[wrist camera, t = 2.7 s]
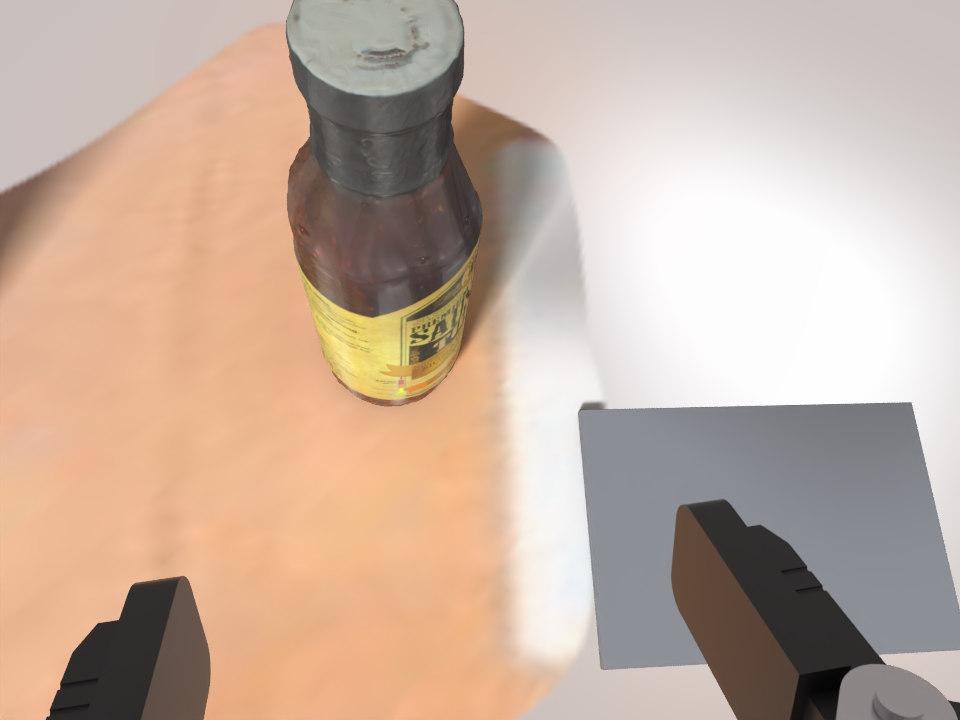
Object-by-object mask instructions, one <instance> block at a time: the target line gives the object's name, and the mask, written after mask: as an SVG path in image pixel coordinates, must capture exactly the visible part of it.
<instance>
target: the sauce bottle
mask: <svg viewBox="0 0 960 720" xmlns="http://www.w3.org/2000/svg"><path fill="white" fill-rule="evenodd" d="M286 38H287V44H288V47H289V52H290V54H289V58H290V61H291V64H292V68H293V75H294V78H295V81H296V84H297V86H298V88H299V90H300V92H301V93H302V95H303V97H304V98H305V100H306V103H307V107H308V109H309V111H308V112H309V115H310V122H311V123H310V137H309V139H308V141H307V142H306V143H305V144H304V145H303V146H302V147H301V148H300V149H299V151H298V154H297V155H296V158H295V160H294V162H293V164H292V165H291V167H290V169H289V179H288V193H287V211H288V217H289V222H290V226H291V229H292V232H293V236H294V237H293V243H294V250H295V255H296V259H297V262H298V266H299V270H300V273H301V277H302V281H303V284H304V287H305V291H306V294H307V297H308V301H309V304H310V308H311V312H312V316H313V320H314V323H315V327H316V330H317V334H318V337H319V341H320V344H321V348H322V352H323V355H324V358H325V360H326V362H327V363H328V365H329V366H330V368H331V369H332V372H333V374H334V376H335V377H336V378H337V380H338V382H339V383H341V384H342V385H343V386H344V387H345V388H346V389H348V390H349V391H350V392H352V393H353V394H354V395H356V396H357V397H359V398H361V399H362V400H365V401H367V402H370V403H372V404H375V405H380V406H401V405H404V404H409V403H411V402H416V401H419V400H421V399H423V398H424V397H426V396H427V395H428V394H429V393H431V392H432V391H433V390H434V389H435V388H436V387H437V386H438V385H439V384H440V383H441V382H442V380H443V379H445V378H446V377H447V374H448V372H449V371H450V370H451V368H452V366H453V365H454V363H455V360H456V358H457V356H458V353H459V350H460V345H461V339H462V334H463V329H464V323H465V318H466V312H467V307H468V302H469V296H470V291H471V286H472V281H473V274H474V268H475V262H476V256H477V251H478V246H479V241H480V235H481V228H482V207H481V203H480V199H479V196H478V194H477V192H476V191H475V189H474V187H473V185H472V183H471V180H470V178H469V176H468V174H467V172H466V169H465V167H464V165H463V163H462V160H461V158H460V156H459V154H458V151H457V149H456V147H455V145H454V142H453V139H454V132H453V128H452V124H451V120H452V105H453V98H454V97H455V95H456V93H457V91H458V89H459V86H460V84H461V81H462V78H463V70H464V26H463V20H462V18H461V15H460V13H459V8H458V5H457V4H456V3H455V1H454V0H294V1H293V3H292V7H291V9H290V12H289V15H288V18H287V20H286Z"/></svg>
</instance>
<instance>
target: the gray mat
mask: <svg viewBox="0 0 960 720" xmlns="http://www.w3.org/2000/svg"><path fill="white" fill-rule="evenodd" d="M578 418H579V429H580V440H581V451H582V463H583V474H584V485H585V497H586V508H587V519H588V531H589V542H590V553H591V565H592V576H593V587H594V599H595V609H596V620H597V632H598V644H599V655H600V666H601V669H603V670H608V669H626V668H643V667H663V666H681V665H698V664H707V662H706V660H705V658H704V656H703V655H702V653H701V651H700V649H699V647H698V645H697V643H696V642H695V640H694V638H693V636H692V634H691V632H690V630H689V629H688V627H687V625H686V623H685V621H684V619H683V617H682V616H681V614H680V612H679V610H678V607H677V605H676V602H675V598H674V594H673V590H672V583H671V568H672V557H673V546H674V535H675V523H676V514H677V510H678V508H679V506H680V505H684V504H691V503H697V502H704V501H711V500H718V499H725V500H727V501H728V502H729V503H730V504H731V505H732V507H733V508H734V509H735V511H736V512H737V513H738V515H739V516H740V517H741V519H742V520H743V521H744V523H745V524H746V525H747V527H748V526H755V525H762V526H764V527H765V528H767V529H768V530H770V531H771V532H773V533H774V534H776V535H777V536H779V537H780V538H782V539H783V540H785V541H786V542H788V543H789V544H790V545H791V547H792V548H793V549H794V550H795V552H796V553H797V554H798V555H799V557H800V558H801V559H802V560H803V562H804V563H805V564H806V565H807V569H808V571H811V572H812V573H813V574H814V575H815V577H816V578H817V579H818V580H819V582H820V583H821V584H822V585H823V590H824V591H826V590H827V592H828V593H829V594H830V595H831V597H832V598H833V599H834V600H835V602H836V603H837V604H838V605H839V607H840V608H841V609H842V610H843V612H844V613H845V614H846V615H847V617H848V618H849V619H850V620H851V622H852V623H853V624H854V625H855V627H856V628H857V629H858V630H859V632H860V633H861V634H862V635H863V637H864V638H865V639H866V640H867V642H868V643H869V644H870V645H871V647H872V648H873V649H874V650H875V652H876V653H877V654H878V655H879V654H897V653H915V652H932V651H951V650H960V609H959V605H958V601H957V597H956V592H955V588H954V584H953V580H952V575H951V571H950V566H949V562H948V558H947V553H946V549H945V545H944V540H943V537H942V532H941V528H940V523H939V519H938V515H937V511H936V506H935V502H934V497H933V493H932V489H931V485H930V481H929V476H928V472H927V468H926V463H925V459H924V454H923V450H922V446H921V442H920V437H919V433H918V429H917V425H916V420H915V416H914V411H913V407H912V403H869V404H868V403H866V404H822V405H781V406H737V407H736V406H735V407H691V408H651V409H650V408H649V409H604V410H580V412H579V413H578Z"/></svg>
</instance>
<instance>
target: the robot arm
mask: <svg viewBox="0 0 960 720" xmlns="http://www.w3.org/2000/svg"><path fill="white" fill-rule="evenodd" d="M671 583H672V590H673V594H674V598H675V602H676V605H677V607H678V610H679V612H680V614H681V616H682V617H683V619H684V621H685V623H686V625H687V627H688V629H689V630H690V632H691V634H692V636H693V638H694V640H695V642H696V643H697V645H698V647H699V649H700V651H701V653H702V655H703V656H704V658H705V660H706V662H707V664H708V666H709V667H710V669H711V671H712V673H713V675H714V677H715V678H716V680H717V682H718V684H719V686H720V688H721V690H722V692H723V693H724V695H725V697H726V699H727V701H728V703H729V705H730V706H731V708H732V710H733V712H734V714H735V716H736V717H737V719H738V720H960V703H959V702H953V701H949V700H947V699H946V698H945V697H944V695H943V694H942V693H941V692H940V691H939V690H938V689H937V688H935V687H934V686H933V685H931V684H930V683H929V682H927V681H926V680H924V679H923V678H921V677H919V676H917V675H915V674H913V673H911V672H909V671H907V670H904V669H901V668H898V667H894V666H890V665H886V664H885V663H884V662H883V661H882V659H881V658H880V657H879V655H878V654H877V653H876V652H875V650H874V649H873V648H872V647H871V645H870V644H869V643H868V642H867V640H866V639H865V638H864V637H863V635H862V634H861V633H860V632H859V630H858V629H857V628H856V627H855V625H854V624H853V623H852V622H851V620H850V619H849V618H848V617H847V615H846V614H845V613H844V612H843V610H842V609H841V608H840V607H839V605H838V604H837V603H836V602H835V600H834V599H833V598H832V597H831V595H830V594H829V593H828V592H827V590H826V591H824V590H823V585H822V584H821V583H820V582H819V580H818V579H817V578H816V577H815V575H814V574H813V573H812V572H811V571H808V569H807V565H806V564H805V563H804V562H803V560H802V559H801V558H800V557H799V555H798V554H797V553H796V552H795V550H794V549H793V548H792V547H791V545H790V544H789V543H788V542H786V541H785V540H783V539H782V538H780V537H779V536H777V535H776V534H774V533H773V532H771V531H770V530H768V529H767V528H765V527H764V526H762V525H755V526H748V527H747V525H746V524H745V523H744V521H743V520H742V519H741V517H740V516H739V515H738V513H737V512H736V511H735V509H734V508H733V507H732V505H731V504H730V503H729V502H728V501H727V500H725V499H718V500H711V501H704V502H697V503H691V504H684V505H680V506H679V508H678V510H677V514H676V523H675V535H674V546H673V557H672V568H671ZM60 686H61V688H60V690H58V691H57V693H56V696H55V698H54V701H53V703H52V706H51V708H50V716H49V717H47V718H46V720H203V719H204V714H205V708H206V703H207V698H208V692H209V686H210V655H209V648H208V644H207V640H206V637H205V634H204V630H203V627H202V623H201V620H200V616H199V613H198V610H197V606H196V603H195V599H194V596H193V592H192V589H191V586H190V583H189V581H188V579H187V578H186V577H185V576H180V577H173V578H166V579H159V580H153V581H146V582H139V583H135V584H133V585H132V586H131V588H130V590H129V593H128V596H127V598H126V601H125V604H124V607H123V610H122V613H121V616H120V619H119V620H117V621H110V622H103V623H98V624H97V625H96V626H95V627H94V629H93V630H92V631H91V632H90V633H89V634H88V635H87V637H86V638H85V639H84V640H83V641H82V642H81V644H80V645H79V646H78V647H77V648H76V649H75V650H74V652H73V653H72V656H71V658H70V661H69V663H68V666H67V668H66V671H65V673H64V676H63V678H62V681H61V683H60Z"/></svg>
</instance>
